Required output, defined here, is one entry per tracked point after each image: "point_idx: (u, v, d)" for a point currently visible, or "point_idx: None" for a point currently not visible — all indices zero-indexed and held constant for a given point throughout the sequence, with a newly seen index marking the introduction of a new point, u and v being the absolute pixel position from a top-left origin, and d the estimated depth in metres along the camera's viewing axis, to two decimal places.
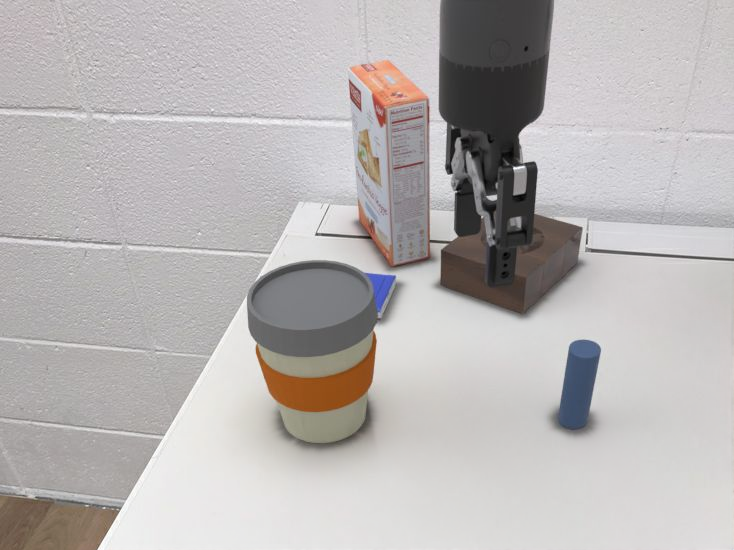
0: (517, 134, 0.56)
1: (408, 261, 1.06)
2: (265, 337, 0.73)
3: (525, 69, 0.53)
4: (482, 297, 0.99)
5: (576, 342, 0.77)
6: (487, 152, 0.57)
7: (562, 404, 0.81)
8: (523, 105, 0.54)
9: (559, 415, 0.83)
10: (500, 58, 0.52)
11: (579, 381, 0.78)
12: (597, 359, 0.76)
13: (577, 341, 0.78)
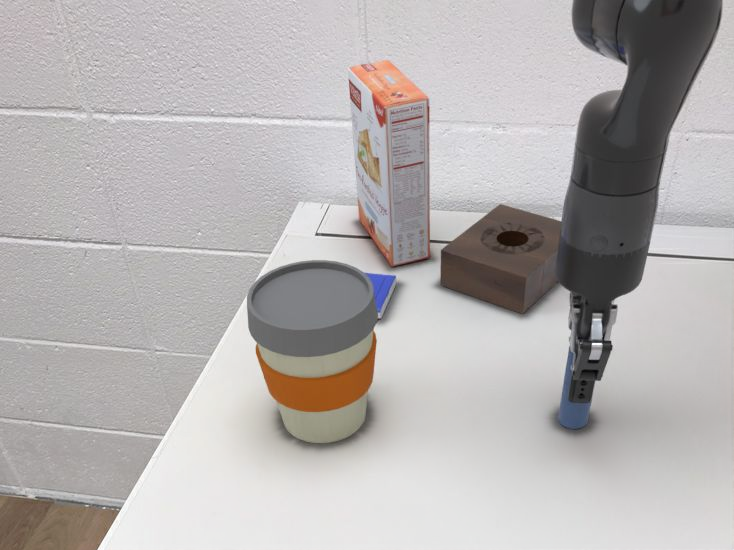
0: (609, 302, 0.69)
1: (408, 261, 1.06)
2: (265, 337, 0.73)
3: (619, 258, 0.66)
4: (482, 297, 0.99)
5: None
6: (583, 310, 0.70)
7: (562, 403, 0.81)
8: (616, 283, 0.67)
9: (559, 415, 0.82)
10: (599, 248, 0.65)
11: None
12: None
13: None
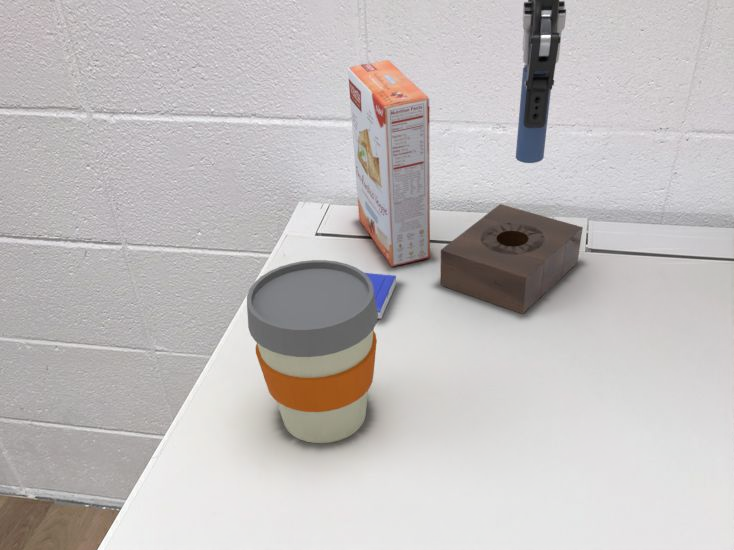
0: None
1: (408, 261, 1.06)
2: (265, 337, 0.73)
3: None
4: (482, 297, 0.99)
5: None
6: (534, 9, 0.75)
7: (518, 136, 0.85)
8: None
9: (516, 151, 0.87)
10: None
11: None
12: None
13: None
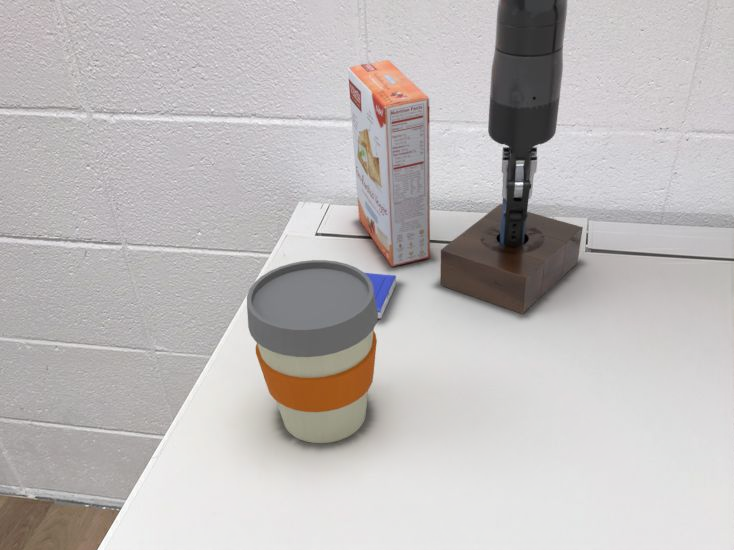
0: (528, 150, 0.88)
1: (408, 261, 1.06)
2: (265, 337, 0.73)
3: (533, 110, 0.85)
4: (482, 297, 0.99)
5: None
6: None
7: None
8: (532, 132, 0.87)
9: None
10: (517, 102, 0.84)
11: None
12: None
13: None
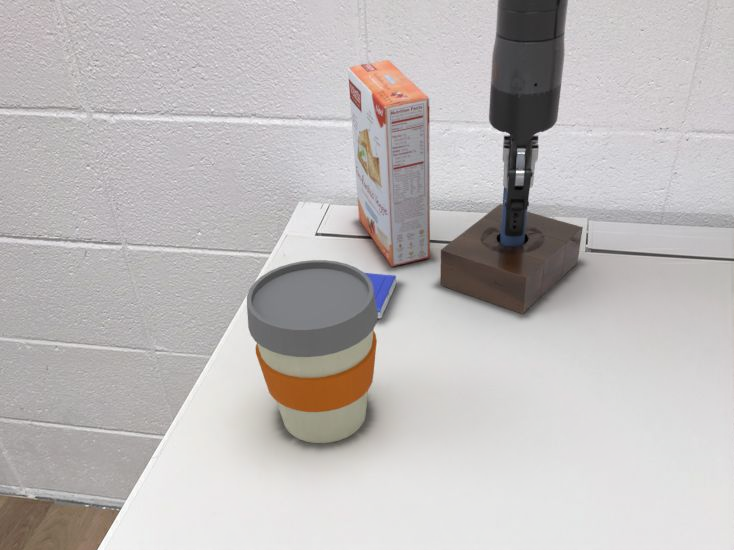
0: (529, 137, 0.87)
1: (408, 261, 1.06)
2: (265, 337, 0.73)
3: (535, 97, 0.84)
4: (482, 297, 0.99)
5: None
6: None
7: (501, 241, 0.99)
8: (533, 119, 0.86)
9: None
10: (518, 88, 0.84)
11: None
12: None
13: None
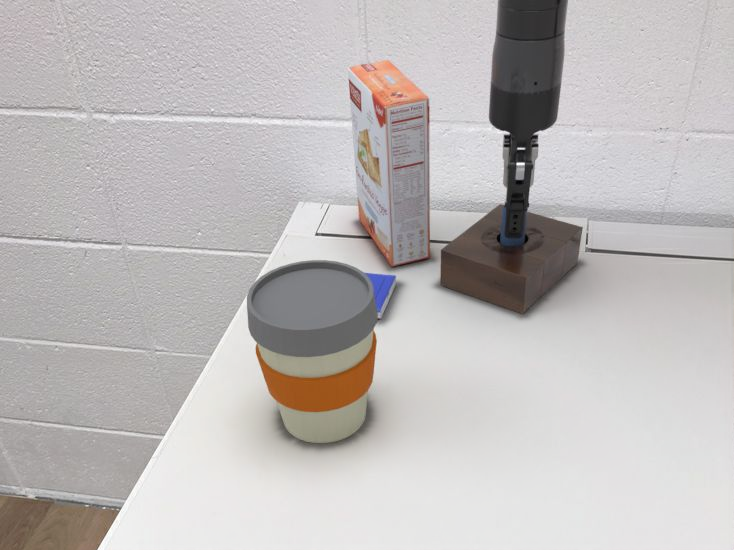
0: (529, 136, 0.87)
1: (408, 261, 1.06)
2: (265, 337, 0.73)
3: (535, 96, 0.84)
4: (482, 297, 0.99)
5: None
6: None
7: None
8: (533, 118, 0.86)
9: None
10: (518, 87, 0.83)
11: None
12: None
13: None
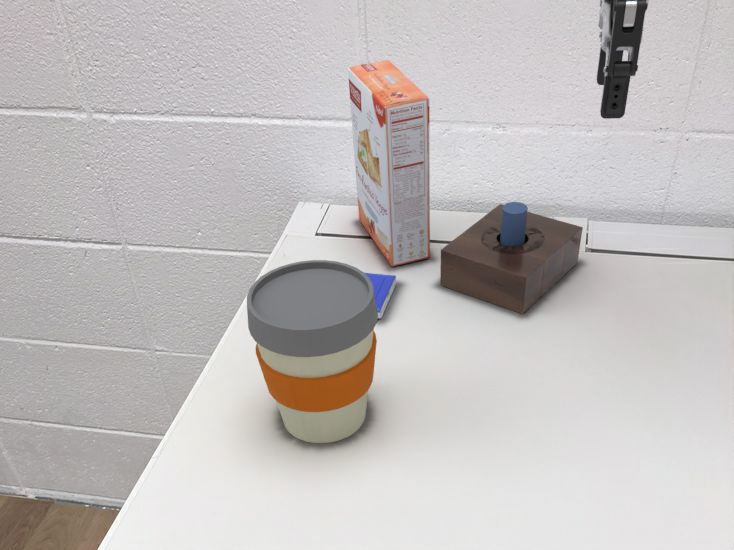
0: None
1: (408, 261, 1.06)
2: (265, 337, 0.73)
3: None
4: (482, 297, 0.99)
5: (508, 203, 0.97)
6: None
7: None
8: None
9: None
10: None
11: (511, 235, 0.98)
12: (524, 215, 0.96)
13: (509, 203, 0.98)
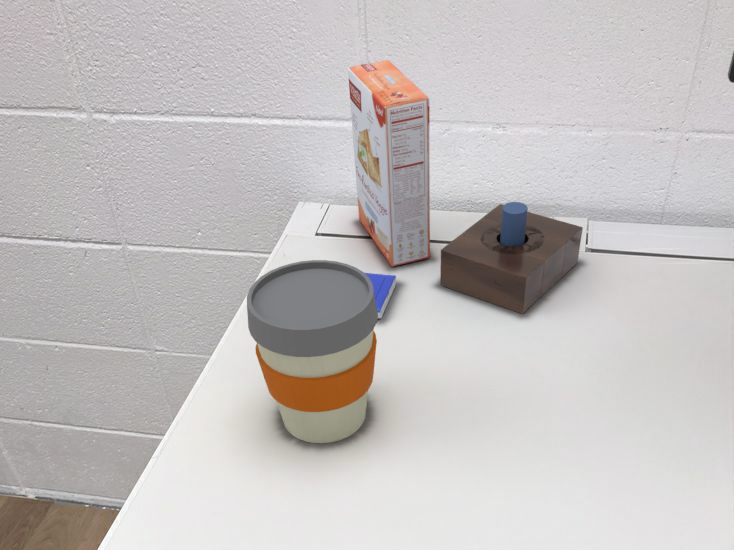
0: None
1: (408, 261, 1.06)
2: (265, 337, 0.73)
3: None
4: (482, 297, 0.99)
5: (508, 203, 0.97)
6: None
7: None
8: None
9: None
10: None
11: (511, 235, 0.98)
12: (524, 215, 0.96)
13: (509, 203, 0.98)
